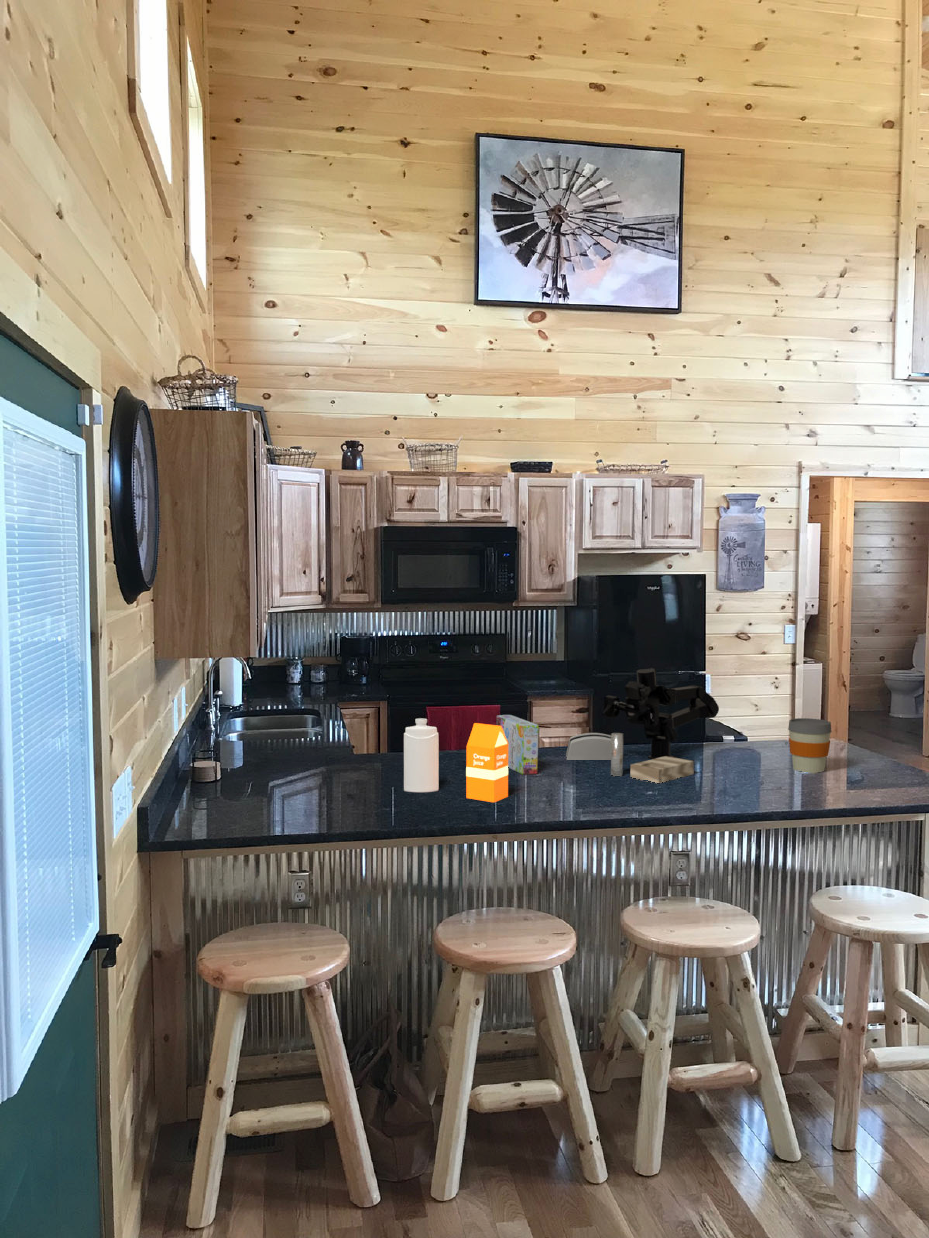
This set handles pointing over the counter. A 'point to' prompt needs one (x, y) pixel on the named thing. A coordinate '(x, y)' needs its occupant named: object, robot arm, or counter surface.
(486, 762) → the orange juice
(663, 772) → the birch hole board
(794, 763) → the reusable coffee cup
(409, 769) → the squeeze bottle
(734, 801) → the counter surface
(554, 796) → the counter surface
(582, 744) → the napkin holder
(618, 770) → the steel peg
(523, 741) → the snack box
